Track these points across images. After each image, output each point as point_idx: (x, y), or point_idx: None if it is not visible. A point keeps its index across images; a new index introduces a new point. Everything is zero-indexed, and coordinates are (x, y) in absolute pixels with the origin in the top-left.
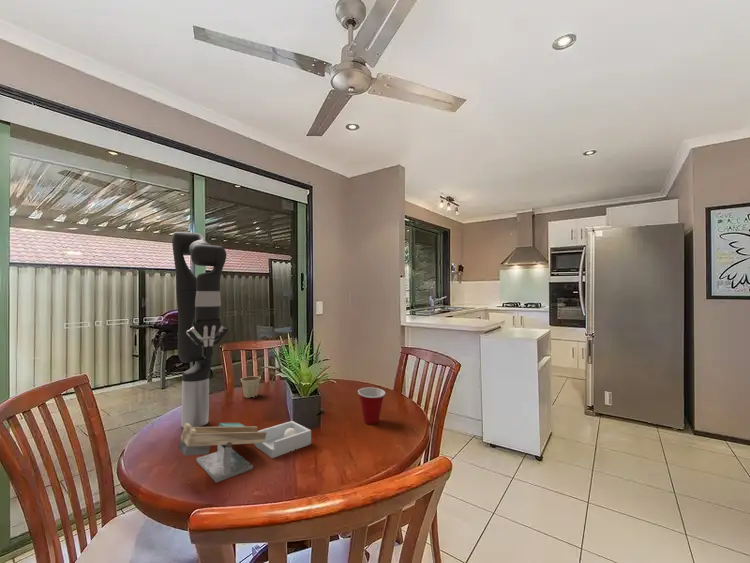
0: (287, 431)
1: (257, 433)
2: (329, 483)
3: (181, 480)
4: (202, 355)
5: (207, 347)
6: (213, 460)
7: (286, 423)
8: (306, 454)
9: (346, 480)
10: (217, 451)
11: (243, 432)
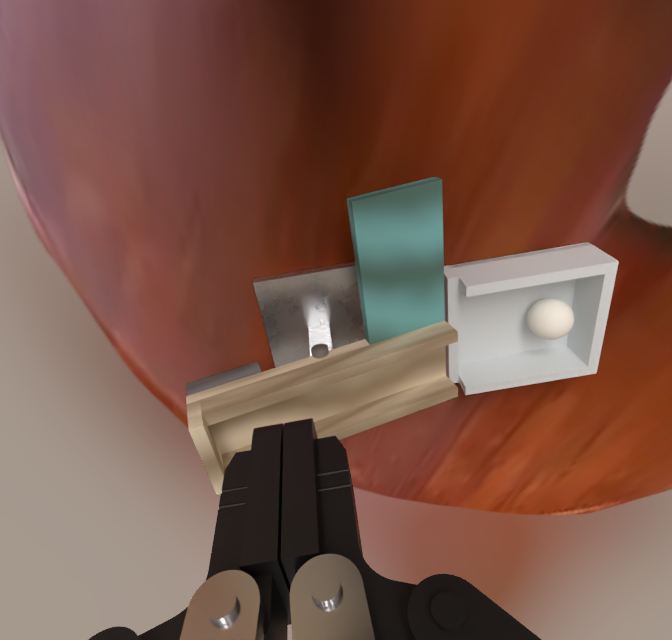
0: (544, 332)
1: (427, 406)
2: (477, 501)
3: (212, 362)
4: (233, 475)
5: (286, 618)
6: (297, 326)
7: (584, 275)
8: (521, 392)
9: (506, 506)
10: (309, 341)
11: (384, 417)
